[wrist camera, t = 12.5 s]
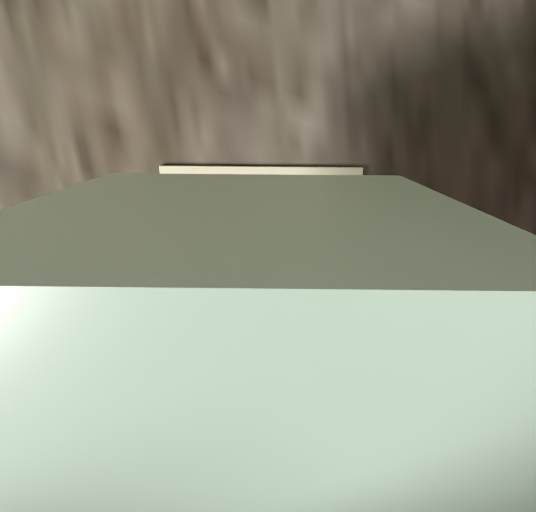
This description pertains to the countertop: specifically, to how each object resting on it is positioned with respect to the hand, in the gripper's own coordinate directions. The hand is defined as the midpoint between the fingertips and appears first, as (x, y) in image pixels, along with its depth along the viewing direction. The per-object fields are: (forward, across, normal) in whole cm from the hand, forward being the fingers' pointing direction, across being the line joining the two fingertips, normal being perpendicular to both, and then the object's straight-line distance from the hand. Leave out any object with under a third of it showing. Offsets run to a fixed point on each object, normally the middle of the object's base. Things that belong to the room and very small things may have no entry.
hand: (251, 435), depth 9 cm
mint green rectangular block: (+2, 0, 0) cm, 2 cm away
